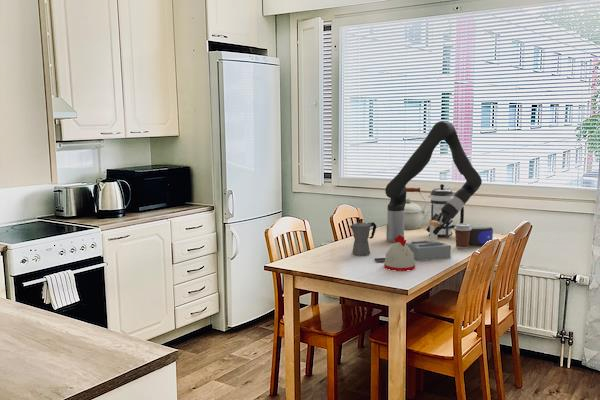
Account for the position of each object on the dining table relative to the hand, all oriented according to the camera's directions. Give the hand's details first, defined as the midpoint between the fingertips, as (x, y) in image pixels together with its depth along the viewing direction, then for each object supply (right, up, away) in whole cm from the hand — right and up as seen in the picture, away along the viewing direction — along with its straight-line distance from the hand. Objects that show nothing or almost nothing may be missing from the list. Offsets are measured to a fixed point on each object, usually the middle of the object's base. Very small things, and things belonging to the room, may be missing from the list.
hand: (431, 232), depth 283 cm
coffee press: (+18, -5, +49) cm, 52 cm away
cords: (-21, -13, -8) cm, 26 cm away
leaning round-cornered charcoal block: (+31, -8, +25) cm, 40 cm away
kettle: (+4, -1, +76) cm, 76 cm away
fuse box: (-2, -12, +1) cm, 12 cm away
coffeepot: (-33, -11, +7) cm, 35 cm away
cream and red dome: (-19, -15, -20) cm, 31 cm away
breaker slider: (+1, -5, +1) cm, 6 cm away
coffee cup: (+21, -9, +19) cm, 30 cm away
